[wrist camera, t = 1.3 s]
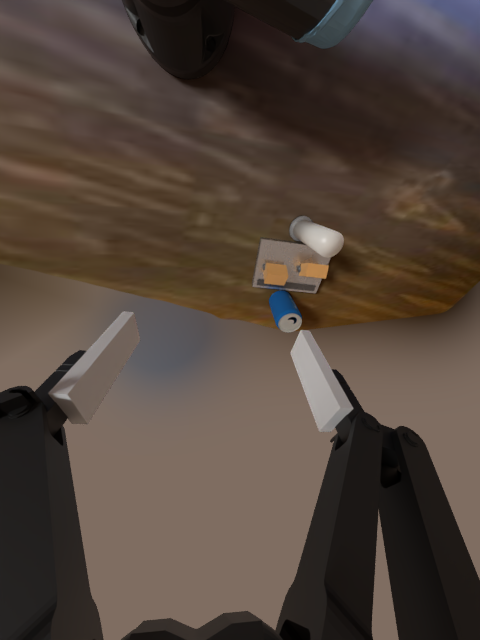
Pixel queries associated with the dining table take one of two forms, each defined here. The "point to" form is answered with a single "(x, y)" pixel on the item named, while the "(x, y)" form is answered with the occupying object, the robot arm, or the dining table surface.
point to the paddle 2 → (313, 270)
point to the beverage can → (285, 311)
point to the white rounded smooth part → (316, 236)
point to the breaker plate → (287, 264)
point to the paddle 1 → (275, 274)
